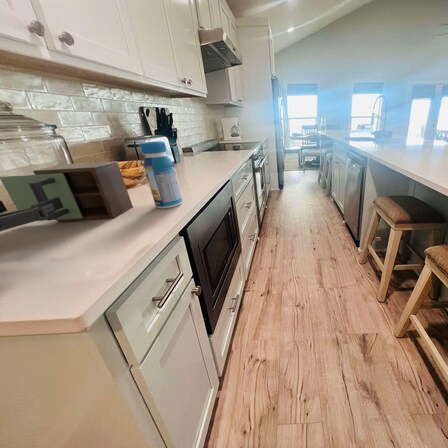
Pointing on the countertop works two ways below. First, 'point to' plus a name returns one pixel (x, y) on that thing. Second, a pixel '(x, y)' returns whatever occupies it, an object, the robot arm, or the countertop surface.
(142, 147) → the beverage bottle
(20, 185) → the sliding door
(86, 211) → the cabinet
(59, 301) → the countertop surface
